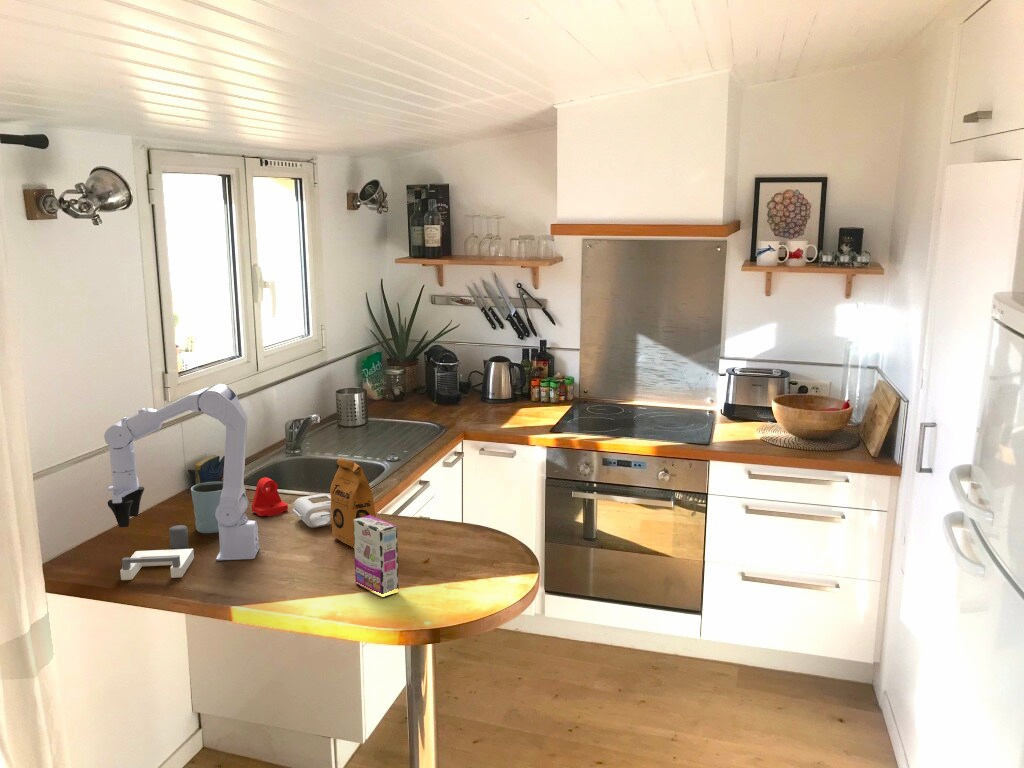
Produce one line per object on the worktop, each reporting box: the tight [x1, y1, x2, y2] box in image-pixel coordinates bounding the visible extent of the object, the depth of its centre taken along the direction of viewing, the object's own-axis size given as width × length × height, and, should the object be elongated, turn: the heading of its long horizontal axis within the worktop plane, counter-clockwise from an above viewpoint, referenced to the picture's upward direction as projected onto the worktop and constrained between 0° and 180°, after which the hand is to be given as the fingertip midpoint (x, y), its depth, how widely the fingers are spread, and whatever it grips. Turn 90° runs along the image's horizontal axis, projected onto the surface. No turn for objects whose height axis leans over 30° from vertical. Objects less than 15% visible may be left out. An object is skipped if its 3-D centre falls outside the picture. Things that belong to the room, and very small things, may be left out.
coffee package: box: [329, 458, 377, 548], centre depth 226 cm, size 10×12×22 cm
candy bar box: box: [353, 515, 399, 594], centre depth 197 cm, size 11×5×16 cm, turn 45°
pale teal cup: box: [190, 481, 223, 534], centre depth 237 cm, size 10×10×12 cm
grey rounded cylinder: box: [168, 524, 190, 550], centre depth 221 cm, size 4×4×6 cm
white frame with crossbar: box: [119, 548, 195, 581], centre depth 209 cm, size 14×12×5 cm
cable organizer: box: [291, 493, 332, 529], centre depth 241 cm, size 7×12×12 cm
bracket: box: [251, 477, 289, 518], centre depth 249 cm, size 9×6×10 cm
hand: (128, 521), depth 214 cm, fingers open, 7 cm apart
